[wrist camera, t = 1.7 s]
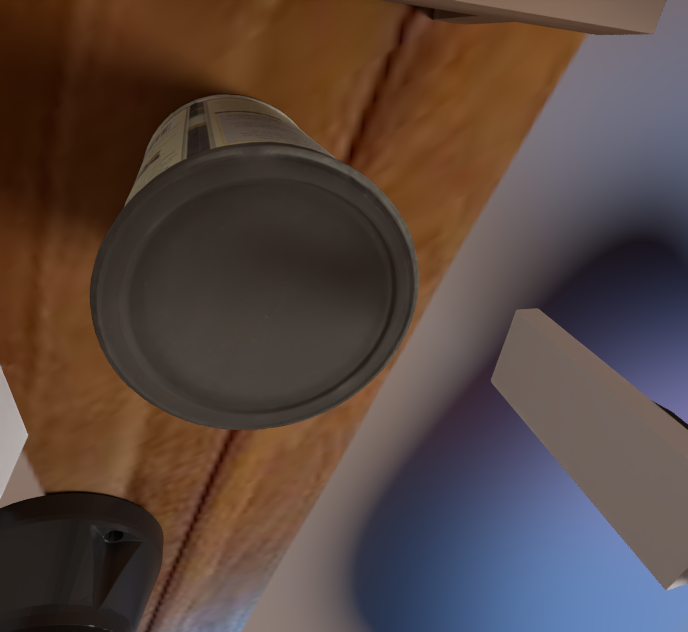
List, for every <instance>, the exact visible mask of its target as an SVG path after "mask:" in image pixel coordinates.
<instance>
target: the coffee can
mask: <svg viewBox="0 0 688 632" xmlns="http://www.w3.org/2000/svg"><path fill="white" fill-rule="evenodd" d="M418 284H419V272H418V261H417V256H416V251H415V247H414V243H413V240H412V237H411V235H410V232H409V230H408V227H407V225H406V224H405V222H404V220H403V218H402V217H401V215H400V213H399V212H398V210H397V208H396V207H395V206H394V204H393V203H392V202H391V201H390V200H389V198H388V197H387V196H386V195H385V194H384V193H383V192H382V191H381V190H380V189H379V188H378V187H377V186H376V185H375V184H374V183H373V182H372V181H371V180H369V179H368V178H367V177H365V176H364V175H363V174H361V173H360V172H358V171H357V170H355V169H354V168H352V167H350V166H349V165H347V164H345V163H343V162H342V161H339V160H337V159H336V158H335V157H334V156H332V155H331V154H330V153H329V152H327V151H326V150H325V149H324V148H322V147H321V146H320V145H319V144H318V143H316V142H315V141H314V140H313V139H312V138H310V137H309V136H308V135H307V134H305V133H304V132H303V131H302V130H301V129H300V128H299V127H298V126H297V125H296V124H295V123H294V122H293V121H292V120H291V119H290V118H289V117H287V116H286V115H285V114H283V113H282V112H281V111H279V110H278V109H276V108H274V107H272V106H271V105H268V104H266V103H264V102H262V101H259V100H256V99H253V98H249V97H246V96H241V95H228V94H225V95H213V96H208V97H204V98H200V99H197V100H194V101H192V102H190V103H187V104H186V105H184V106H182V107H180V108H179V109H177V110H176V111H174V112H172V113H171V114H170V116H169V117H168V118H166V119H165V120H164V121H163V123H162V124H161V125H160V126H159V127H158V129H157V130H156V132H155V133H154V135H153V136H152V138H151V140H150V142H149V144H148V147H147V149H146V152H145V156H144V160H143V163H142V165H141V168H140V170H139V173H138V175H137V178H136V181H135V183H134V185H133V188H132V190H131V192H130V194H129V196H128V198H127V200H126V203H125V206H124V208H123V209H122V211H121V212H120V214H119V215H118V217H117V218H116V220H115V221H114V222H113V224H112V225H111V227H110V229H109V231H108V232H107V234H106V236H105V237H104V239H103V242H102V244H101V246H100V248H99V251H98V254H97V257H96V261H95V264H94V268H93V272H92V277H91V285H90V307H91V314H92V320H93V324H94V329H95V333H96V335H97V338H98V341H99V343H100V346H101V348H102V350H103V352H104V354H105V356H106V358H107V360H108V362H109V363H110V365H111V366H112V367H113V369H114V370H115V372H116V373H117V374H118V376H119V377H120V378H121V379H122V380H123V381H124V382H125V383H126V384H127V385H128V386H129V387H130V388H131V389H133V390H134V391H135V392H136V393H137V394H139V395H140V396H141V397H142V398H143V399H145V400H146V401H148V402H150V403H151V404H153V405H154V406H156V407H158V408H160V409H161V410H163V411H165V412H167V413H169V414H171V415H173V416H175V417H178V418H181V419H183V420H185V421H189V422H192V423H195V424H199V425H204V426H208V427H213V428H221V429H232V430H256V429H266V428H274V427H280V426H285V425H290V424H293V423H297V422H300V421H303V420H307V419H310V418H312V417H314V416H317V415H319V414H322V413H324V412H326V411H328V410H330V409H332V408H334V407H336V406H337V405H339V404H341V403H343V402H344V401H346V400H348V399H349V398H351V397H352V396H353V395H355V394H356V393H357V392H359V391H360V390H361V389H363V388H364V387H365V386H366V385H367V384H368V383H369V382H371V381H372V380H373V379H374V378H375V377H376V376H377V375H378V374H379V373H380V372H381V371H382V370H383V369H384V367H385V366H386V365H387V364H388V362H389V361H390V360H391V359H392V357H393V356H394V354H395V353H396V351H397V350H398V348H399V347H400V345H401V343H402V341H403V339H404V337H405V335H406V333H407V331H408V329H409V326H410V324H411V321H412V318H413V314H414V311H415V307H416V302H417V296H418Z"/></svg>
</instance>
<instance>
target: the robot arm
mask: <svg viewBox="0 0 688 632" xmlns="http://www.w3.org/2000/svg"><path fill="white" fill-rule="evenodd" d="M491 382H492V384H493V385H494V386H495V387H496V388H497V389H498V391H499V392H500V393H501V394H502V395H503V396H504V398H505V399H506V400H507V401H508V403H509V404H510V405H511V406H512V407H513V409H514V410H515V411H516V412H517V413H518V415H519V416H520V417H521V418H522V419H523V421H524V422H525V423H526V424H527V425H528V426H529V428H530V429H531V430H532V431H533V432H534V434H535V435H536V436H537V437H538V438H539V440H540V441H541V442H542V443H543V444H544V446H545V447H546V448H547V449H548V450H549V451H550V453H551V454H552V455H553V456H554V458H555V459H556V460H557V461H558V462H559V463H560V465H561V466H562V467H563V468H564V469H565V471H566V472H567V473H568V474H569V475H570V477H571V478H572V479H573V480H574V481H575V483H576V484H577V485H578V486H579V487H580V489H581V490H582V491H583V492H584V493H585V494H586V496H587V497H588V498H589V499H590V500H591V502H592V503H593V504H594V505H595V506H596V508H597V509H598V510H599V511H600V512H601V514H602V515H603V516H604V517H605V518H606V520H607V521H608V522H609V523H610V524H611V526H612V527H613V528H614V529H615V530H616V531H617V533H618V534H619V535H620V536H621V537H622V539H623V540H624V541H625V542H626V543H627V545H628V546H629V547H630V548H631V549H632V550H633V552H634V553H635V554H636V555H637V557H638V558H639V559H640V560H641V561H642V563H643V564H644V565H645V566H646V567H647V568H648V570H649V571H650V572H651V573H652V574H653V576H654V577H655V578H656V579H657V580H658V582H659V583H660V584H661V585H662V586H663V588H664V589H665V590H669V589H672V588H675V587H678V586H681V585H685V584H688V424H687V423H685V422H684V421H683V420H682V419H680V418H679V417H678V416H676V415H675V414H674V413H673V412H671V411H669V410H668V409H666V408H664V407H662V406H660V405H658V404H657V403H655V402H653V401H652V400H650V399H649V398H648V397H646V396H645V395H644V394H643V393H642V392H640V391H639V390H638V389H637V388H635V387H634V386H633V385H632V384H630V383H629V382H628V381H627V380H625V379H624V378H623V377H622V376H620V375H619V374H618V373H617V372H616V371H614V370H613V369H612V368H611V367H609V366H608V365H607V364H606V363H604V362H603V361H602V360H601V359H600V358H598V357H597V356H596V355H595V354H593V353H592V352H591V351H590V350H588V349H587V348H586V347H585V346H584V345H582V344H581V343H580V342H579V341H577V340H576V339H575V338H573V337H572V336H571V335H570V334H569V333H567V332H566V331H565V330H564V329H563V328H561V327H560V326H559V325H557V324H556V323H555V322H554V321H553V320H551V319H550V318H549V317H548V316H546V315H545V314H544V313H543V312H542V311H540V310H539V309H523V310H516V313H515V315H514V318H513V321H512V324H511V327H510V329H509V332H508V335H507V338H506V340H505V343H504V346H503V349H502V351H501V354H500V357H499V360H498V362H497V365H496V368H495V371H494V373H493V376H492V379H491ZM27 437H28V434H27V431H26V429H25V426H24V424H23V421H22V419H21V416H20V414H19V411H18V409H17V406H16V404H15V401H14V399H13V396H12V394H11V391H10V389H9V386H8V384H7V381H6V379H5V376H4V374H3V371H2V369H1V366H0V499H1V497H2V495H3V492H4V490H5V487H6V485H7V483H8V481H9V478H10V476H11V474H12V471H13V469H14V467H15V464H16V462H17V460H18V457H19V455H20V453H21V451H22V448H23V446H24V444H25V441H26V439H27ZM162 555H163V532H162V529H161V526H160V525H159V523H158V522H157V520H156V519H155V518H154V517H153V516H152V515H151V514H150V513H149V512H147V511H146V510H144V509H143V508H141V507H139V506H137V505H135V504H133V503H130V502H128V501H125V500H122V499H118V498H114V497H110V496H104V495H97V494H85V493H68V494H54V495H47V496H41V497H36V498H31V499H27V500H23V501H20V502H16V503H13V504H10V505H8V506H5V507H3V508H0V632H136V630H137V628H138V625H139V623H140V620H141V618H142V615H143V613H144V610H145V608H146V605H147V603H148V600H149V598H150V595H151V593H152V590H153V588H154V585H155V582H156V580H157V577H158V575H159V572H160V569H161V564H162Z"/></svg>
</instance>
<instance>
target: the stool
mask: <svg viewBox="0 0 688 632" xmlns="http://www.w3.org/2000/svg"><path fill="white" fill-rule="evenodd" d="M384 1H391V2H397V3H403V4H409V5H415V6H422V7H428V8H434V14H433V20H439V21H446V22H452V23H459V24H482V23H500V22H521V23H527V24H533V25H539V26H546V27H552V28H558V29H564V30H571V31H577V32H583V33H589V34H595V35H624V34H625V35H627V34H653V33H654V31H655V28H656V26H657V23H658V21H659V18H660V16H661V13H662V11H663V8H664V5H665V3H666V1H667V0H384Z"/></svg>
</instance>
